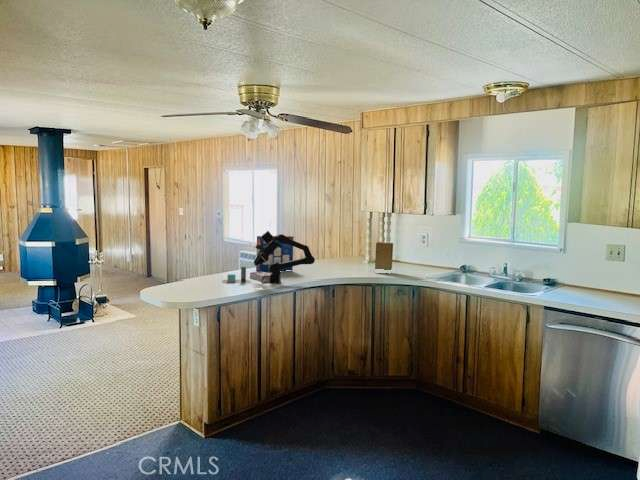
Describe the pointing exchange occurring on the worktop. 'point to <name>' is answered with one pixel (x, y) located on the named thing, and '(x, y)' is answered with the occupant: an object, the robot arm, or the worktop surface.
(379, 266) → the food packaging
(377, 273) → the worktop surface
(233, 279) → the teal block
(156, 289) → the worktop surface
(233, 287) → the worktop surface
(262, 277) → the candy bar box
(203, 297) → the worktop surface
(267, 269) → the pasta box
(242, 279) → the walnut strip
